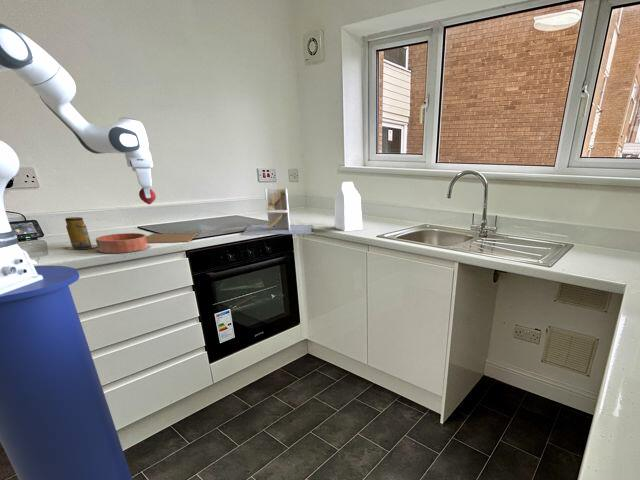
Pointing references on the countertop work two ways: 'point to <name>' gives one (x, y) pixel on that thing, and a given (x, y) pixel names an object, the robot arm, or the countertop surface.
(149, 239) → the mat
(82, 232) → the condiment
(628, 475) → the countertop surface
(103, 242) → the bowl
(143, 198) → the onion
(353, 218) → the milk
